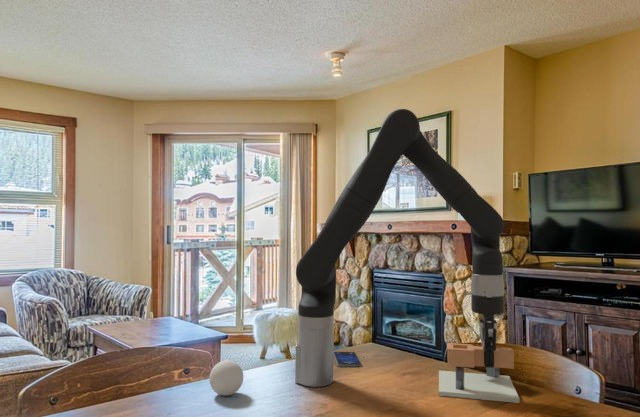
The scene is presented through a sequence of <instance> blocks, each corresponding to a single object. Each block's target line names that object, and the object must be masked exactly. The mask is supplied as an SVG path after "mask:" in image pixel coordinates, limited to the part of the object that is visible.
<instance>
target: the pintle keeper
mask: <svg viewBox="0 0 640 417" xmlns="http://www.w3.org/2000/svg"><path fill="white" fill-rule="evenodd" d="M485 369H486V370H485V371H486V372H485V374H486V376H490V377H494V378H496V377H498V376H500V369H501V368H497V367H493V368H488V367H485ZM455 372H456V389H458V390H464V373H465V367H458V366H455Z"/></svg>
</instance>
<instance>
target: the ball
mask: <svg viewBox="0 0 640 417" xmlns="http://www.w3.org/2000/svg"><path fill="white" fill-rule="evenodd" d="M208 380H209V385H210V387H211V389H212V390H213V392H214V393H216V394H217V395H219V396H224V397H227V396H231V395H234V394H235V393H237V392H238V391H239V389H240V388H241V387H242V385H243V382H244V372H243V370H242V367H241V366H240V365H239V364H238V363H237V362H236V361H233V360H230V359H229V360H228V359H225V360H221V361H219V362H218V363H217V364H215V365H213V367H212V369H211V371H210V373H209V378H208Z"/></svg>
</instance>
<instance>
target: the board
mask: <svg viewBox="0 0 640 417" xmlns="http://www.w3.org/2000/svg"><path fill="white" fill-rule="evenodd" d="M438 396H440V397H441V396H442V397H452V398H464V399H473V400H483V401H493V402H495V401H496V402H505V403H515V404H520V397H519V394H518V392H517V390H516V387H515V386H514V383H513V381H512V379H511V376H509V375H500V376H498V377H496V378H494V377H490V376H486V373H475V372H473V373H472V372H464V390H458V389H456V371H449V370H438Z"/></svg>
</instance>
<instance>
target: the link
mask: <svg viewBox="0 0 640 417" xmlns="http://www.w3.org/2000/svg"><path fill="white" fill-rule="evenodd" d="M447 366H448V367H456V366H458V367H464V368H472V369H473V368H475V367H485V366H484V350H483V347H482V345H480V346H478V345H473V344H469V343H455V342H454V343H453V342H447ZM494 367H497V368H500V369H501V368H502V369H512V370H514V369H515V352H514V350H513V348H510V347H509V348H508V347H497V346H496V351H495V352H494ZM485 368H486V367H485Z"/></svg>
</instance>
